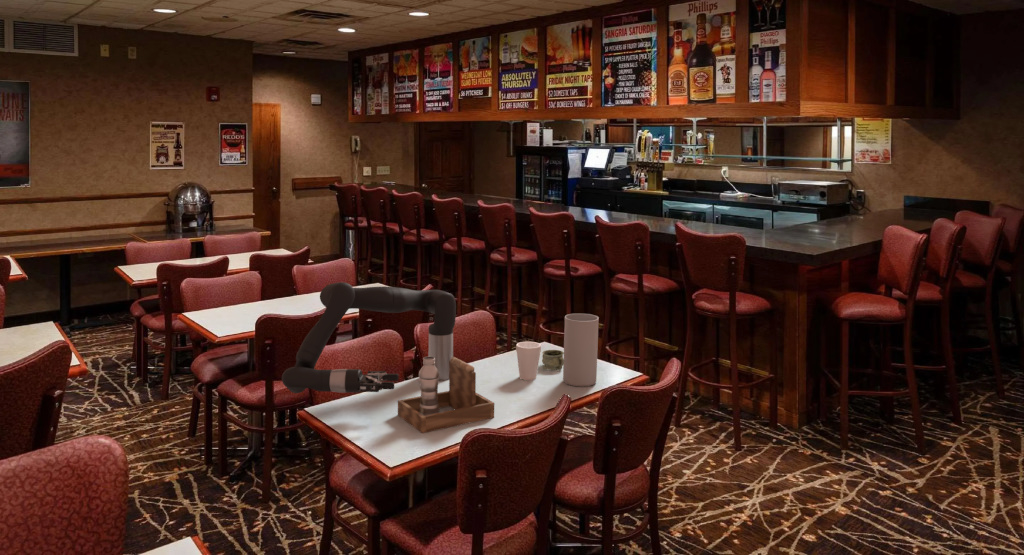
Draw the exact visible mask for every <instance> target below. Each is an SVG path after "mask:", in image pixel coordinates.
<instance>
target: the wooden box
mask: <svg viewBox="0 0 1024 555" xmlns="http://www.w3.org/2000/svg"><path fill="white" fill-rule="evenodd" d="M476 374H477V373H476V372H475V367H474V366H473V365H470V363H468V362H465V361H464V360H461V359H459V358H457V357H455V356H453V357H452V358H451V360H450V361H449V379H448V380H449V381H448V382H449V383H448V384H449V385H448V388H449V390H446V391H441V392H438V403H439V407H440V409H442V408H447V407H450V408H451V409H452V410H451V409H450V410H446V411H442V412H439V413H435V414H431V415H426V416H423V415H422V414H421V413H420V412H419V407H420V401H421V395H420V396H414V397H409V398H404V399H399V400H397V416H399V417H400V418H401V419H403V420H404V421H405V422H407V423H408V424H409V425H410V426H412V427H413V428H414V429H416V430H417V431H418V432H420V433H421V434H424V433H429V432H434V431H439V430H442V429H443V428H444V429H447V428H451V427H453V428H454V427H458V426H462V425H466V424H465V423H467V424H470V423H469V422H471V423H476V422H479V421H484V419H485V420H489V418H490V419H493V418H495V402H493V401H492V400H490V399H488V397H487V398H486V397H485V396H483V395H481V394H479V393H477V392H476V391H477V390H476V389H477V388H476V385H477V384H476V383H477V379H476V377H477V376H476ZM454 409H455V410H454ZM475 421H476V422H475ZM461 424H462V425H461ZM457 425H458V426H457Z"/></svg>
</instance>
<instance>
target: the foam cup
mask: <svg viewBox="0 0 1024 555" xmlns="http://www.w3.org/2000/svg"><path fill="white" fill-rule="evenodd" d="M515 352H516V357H517V365H518V374H519V375H518V376H519V379H520V378H521V379H520V380H522V379H524V380H523V381H535V380H536V379H537V375H538V369H539V368H538V367H539V363H540V355H541V352H542V344H541V343H539V342H535V341H520V342H518V343H516V346H515Z"/></svg>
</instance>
